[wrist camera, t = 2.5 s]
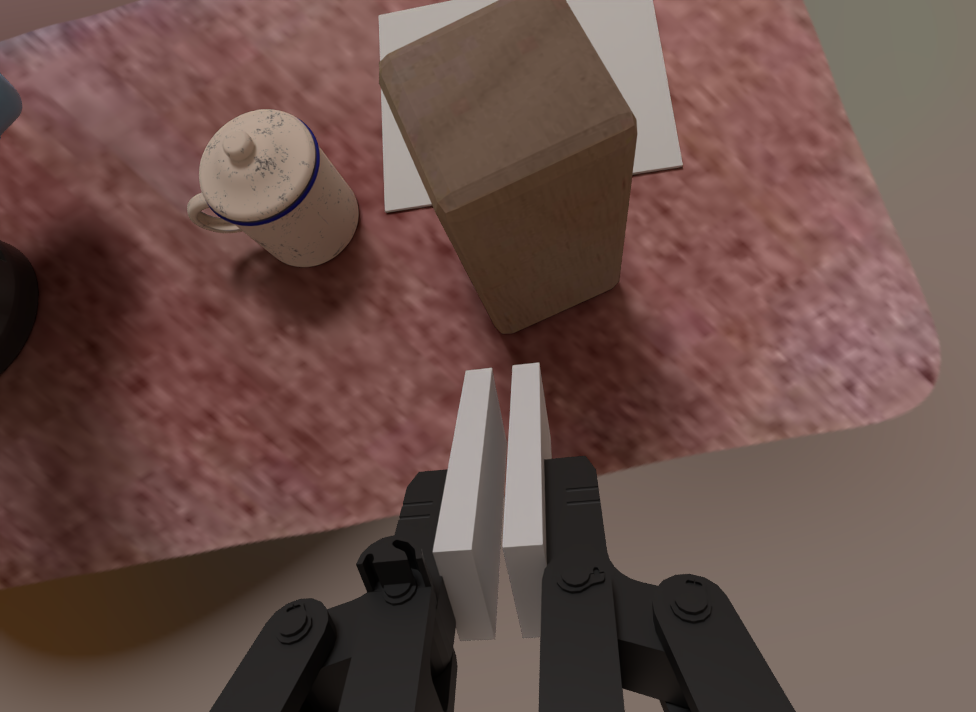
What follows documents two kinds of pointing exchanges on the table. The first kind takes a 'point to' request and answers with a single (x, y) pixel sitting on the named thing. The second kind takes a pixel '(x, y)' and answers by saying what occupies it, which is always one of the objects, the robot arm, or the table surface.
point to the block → (519, 153)
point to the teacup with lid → (275, 189)
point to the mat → (616, 38)
